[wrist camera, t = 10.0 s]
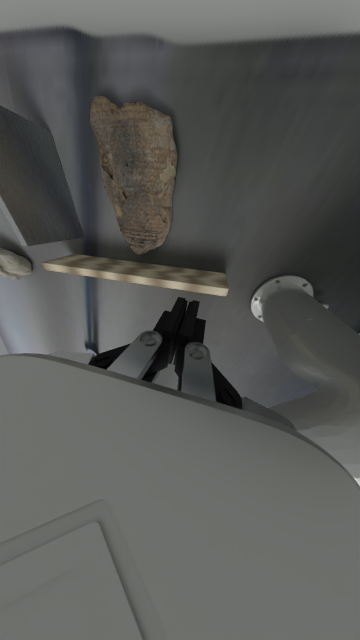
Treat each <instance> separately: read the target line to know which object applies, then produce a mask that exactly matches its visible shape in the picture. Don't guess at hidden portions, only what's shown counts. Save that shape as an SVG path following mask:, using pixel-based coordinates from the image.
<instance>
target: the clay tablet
mask: <svg viewBox="0 0 360 640" xmlns="http://www.w3.org/2000/svg"><path fill="white" fill-rule="evenodd" d="M90 123H91V127H92V130H93V133H94V135H95V137H96V139H97V140H98V144H99V151H100V170H101V174H102V178H103V183H104V187H105V188H106V189H107V195H108V197H109V198H110V200H111V202H112V204H113V206H114V210H115V212H116V215H117V221H118V224H119V227H120V231H121V234H122V236H123V237H124V238H126V240H127V242H128V243H129V246H130V247H131V248H132V249H133V251H134V252H135V253H136V254H139V255H140V254H145V253H147V252H148V251H149V250H152V249H155V248H156V247H159V246H161V245H162V244H163V243H164V241H165V237H166V235H168V233H169V229H170V226H171V220H172V207H173V201H172V195H173V191H174V186H175V180H174V177H175V176H176V167H177V150H176V145H175V142H174V139H173V124H172V120H171V118H170V116H168V115H166V114H162V113H161V112H159V111H157V110H155V109H152V108H149V107H148V106H147V105H145V104H144V103H142V102H140V101H139V100H138V101H137V103H136V104H135V103H134V102H133V103H131V102H125V103H124V106H123V107H121V108H118V107H117V106H116V104H113V103H111V102H110V100H109V99H108V98H106V97H104V96H98V97H95V98H94V99H93V100H92V103H91V111H90Z"/></svg>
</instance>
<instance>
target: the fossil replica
mask: <svg viewBox="0 0 360 640" xmlns="http://www.w3.org/2000/svg"><path fill="white" fill-rule="evenodd" d="M31 267H32V266H31V263H30V262H29V261H28V260H27V259H26V258H25V257H23V256H19V255H17V254H15V253H13V252H11V251H9V250H6V249H3V248H1V247H0V275H1V276H4V277H7V278H11V279H14V280H19V279H20V277H22V276H25V275H29V274H30V273H32V269H31Z"/></svg>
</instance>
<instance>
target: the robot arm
mask: <svg viewBox="0 0 360 640" xmlns="http://www.w3.org/2000/svg"><path fill="white" fill-rule="evenodd" d="M187 302H188V301H186V300H185V298H181V297H178V299H177V301H176V303H175V305H174V307H173V309H172V311H171V312H169V311H164V312H163V314H162V316H161V318H160V319H159V321H158V323H157V324H156V326H155V328H154V330H153V331H145V332H143V333H141V334H140V335H139V336H138V337H137V338H136V339H135V340H134V341H133V342H132V343H131V344H128V345H125V346H122V347H119V348H115V349H112V350H109V351H106V352H103V353H100V354H98V355H96V356H95V355H94V354H90V353H75V352H54V353H51V354H49V355H45V354H32V353H22V354H8V355H1V356H0V640H360V335H359V334H357V333H356V332H355V331H354V330H352V329H351V328H350V327H349V326H347V325H346V324H345V323H344V322H343V321H341V320H340V319H339V318H338V317H336V316H335V315H334V314H333V313H332V312H330V311H329V310H328V307H329V306H328V304H323V303H319V302H318V301H317V300H316V299H314V298H313V288H312V286H311V284H310V283H309V282H308V281H307V280H305V279H303V278H302V277H299V276H295V275H283V276H278V277H275V278H272V279H270V280H268V281H266V282H265V283H263V284H262V285H261V286H260V287H259V288H257V289H256V291H255V292H254V294H253V296H252V298H251V301H250V307H251V311H252V313H253V315H254V316H255V317H256V318H257V319H259V320H261V321H263V322H264V323H265V325H266V327H267V329H268V331H269V333H270V335H271V337H272V340H273V342H274V344H275V346H276V348H277V350H278V352H279V354H280V356H281V358H282V360H283V362H284V364H285V365H286V367H287V368H288V369H289V370H290V371H291V372H292V373H293V374H294V375H296V376H297V377H299V378H301V379H303V380H304V381H306V382H309V383H311V384H313V385H315V386H318V387H319V389H318V390H317V391H315V392H313V393H310V394H308V395H305V396H303V397H300V398H297V399H294V400H291V401H288V402H284V403H281V404H278V405H276V406H273V407H270V408H267V407H265V406H263V405H261V404H259V403H257V402H255V401H253V400H251V399H249V398H247V397H244V398H243V397H241V396H240V395H239V394H238V392H237V391H236V390H235V388H234V387H233V386H232V385H231V384H230V383H229V382H228V380H227V379H226V378H225V377H224V376H223V375H222V374H221V373H220V371H219V370H218V369H217V368H216V367H215V366H214V365H213V363H212V362H211V357H210V352H209V349H208V348H207V347H206V346H205V345H204V344H203V340H204V331H205V323H206V320H203V319H198V318H196V316H197V312H198V307H199V303H200V302H198V301H194V300H193V301H192V302H189V305H188V308H187V311H186V307H187ZM185 313H186V314H185ZM175 351H176V352H175ZM174 354H175V358H174V364H173V365H176V366H175V372H176V374H177V375H178V385H177V390H174V389H171V388H167V387H164V386H160V385H157V384H154V382H155V380H156V378H157V376H158V375H159V372H160V370H162V369H164V368H165V367H166V368H167V366H168V363H169V364H171V363H172V360H173V357H174Z"/></svg>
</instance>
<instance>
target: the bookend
mask: <svg viewBox="0 0 360 640" xmlns="http://www.w3.org/2000/svg"><path fill="white" fill-rule="evenodd" d="M0 208H1V209H2V211H3V213H4V215H5V216H6V218H7V220H8V222H9V223H10V225H11V227H12V229H13V231H14V232H15V234H16V236H17V238H18V239H19V241H20V243H21V245H22V246H33V245H39V244H45V243H52V242H58V241H64V240H70V239H77V238H83V237H84V236H83V233H82V229H81V226H80V223H79V220H78V217H77V213H76V210H75V207H74V204H73V201H72V197H71V194H70V191H69V188H68V185H67V181H66V178H65V175H64V172H63V169H62V165H61V162H60V159H59V156H58V153H57V149H56V146H55V143H54V140H53V137H52V133H51V132H50V131H48V130H46V129H45V128H43V127H41V126H39V125H37V124H35V123H33V122H31V121H29V120H27V119H25V118H23V117H21V116H20V115H18V114H16V113H14V112H12V111H10V110H8V109H6V108H4V107H2V106H0Z"/></svg>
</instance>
